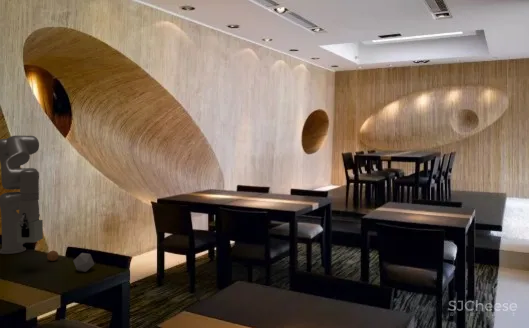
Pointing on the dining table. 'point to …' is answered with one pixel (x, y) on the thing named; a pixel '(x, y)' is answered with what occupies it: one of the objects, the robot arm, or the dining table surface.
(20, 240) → the grey block
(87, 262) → the die
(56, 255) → the ball
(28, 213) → the robot arm
